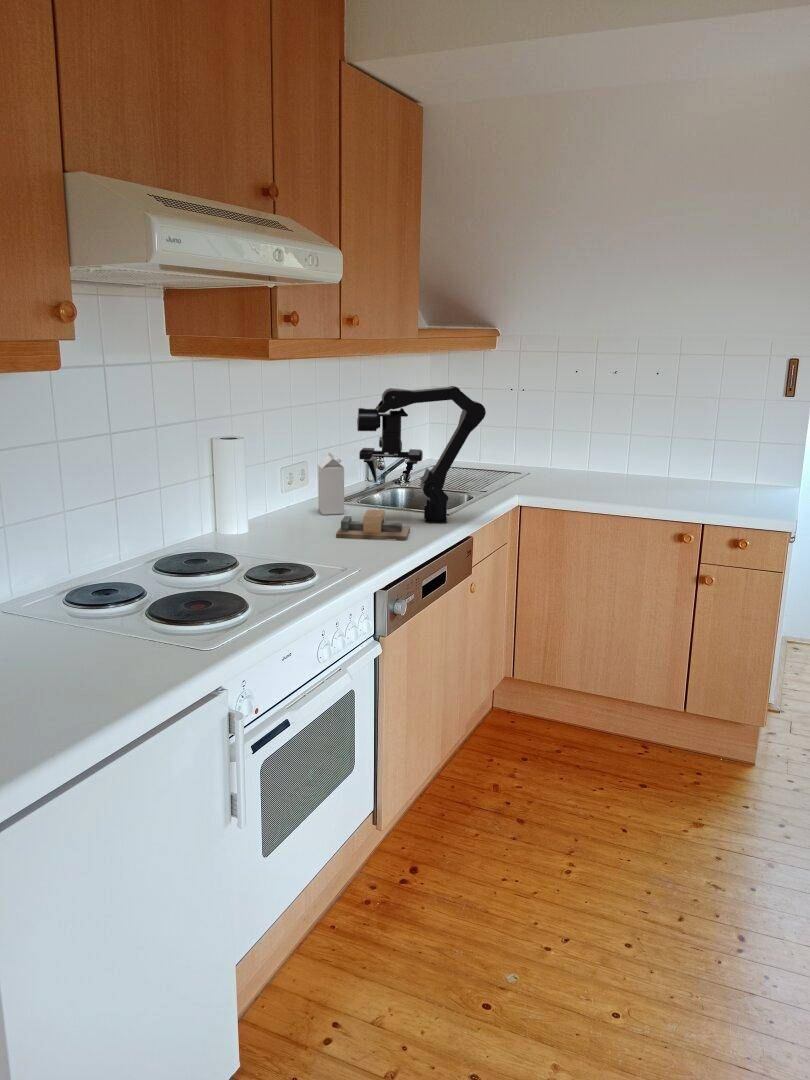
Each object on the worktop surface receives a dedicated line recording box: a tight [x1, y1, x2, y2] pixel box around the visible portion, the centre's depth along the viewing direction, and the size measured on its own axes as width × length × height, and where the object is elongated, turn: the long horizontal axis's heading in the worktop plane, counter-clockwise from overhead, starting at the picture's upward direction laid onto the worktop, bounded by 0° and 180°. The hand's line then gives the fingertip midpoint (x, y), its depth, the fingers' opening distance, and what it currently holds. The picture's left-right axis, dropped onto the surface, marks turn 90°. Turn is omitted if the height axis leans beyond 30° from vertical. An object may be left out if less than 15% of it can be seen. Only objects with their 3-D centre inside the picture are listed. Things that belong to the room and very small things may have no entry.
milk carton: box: [317, 451, 345, 516], centre depth 266 cm, size 7×7×19 cm
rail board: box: [335, 515, 411, 541], centre depth 241 cm, size 20×12×4 cm, turn 85°
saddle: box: [362, 509, 386, 534], centre depth 241 cm, size 5×9×5 cm, turn 175°
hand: (390, 482), depth 255 cm, fingers open, 9 cm apart
